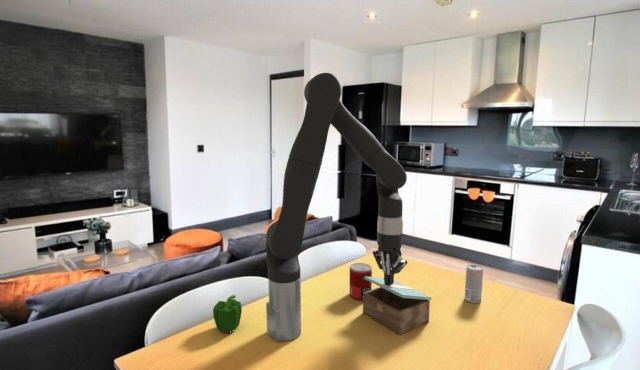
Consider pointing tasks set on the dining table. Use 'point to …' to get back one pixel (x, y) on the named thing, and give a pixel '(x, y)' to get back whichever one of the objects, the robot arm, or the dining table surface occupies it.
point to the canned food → (359, 280)
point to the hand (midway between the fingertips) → (388, 284)
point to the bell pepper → (227, 314)
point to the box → (395, 310)
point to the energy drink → (473, 283)
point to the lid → (399, 289)
